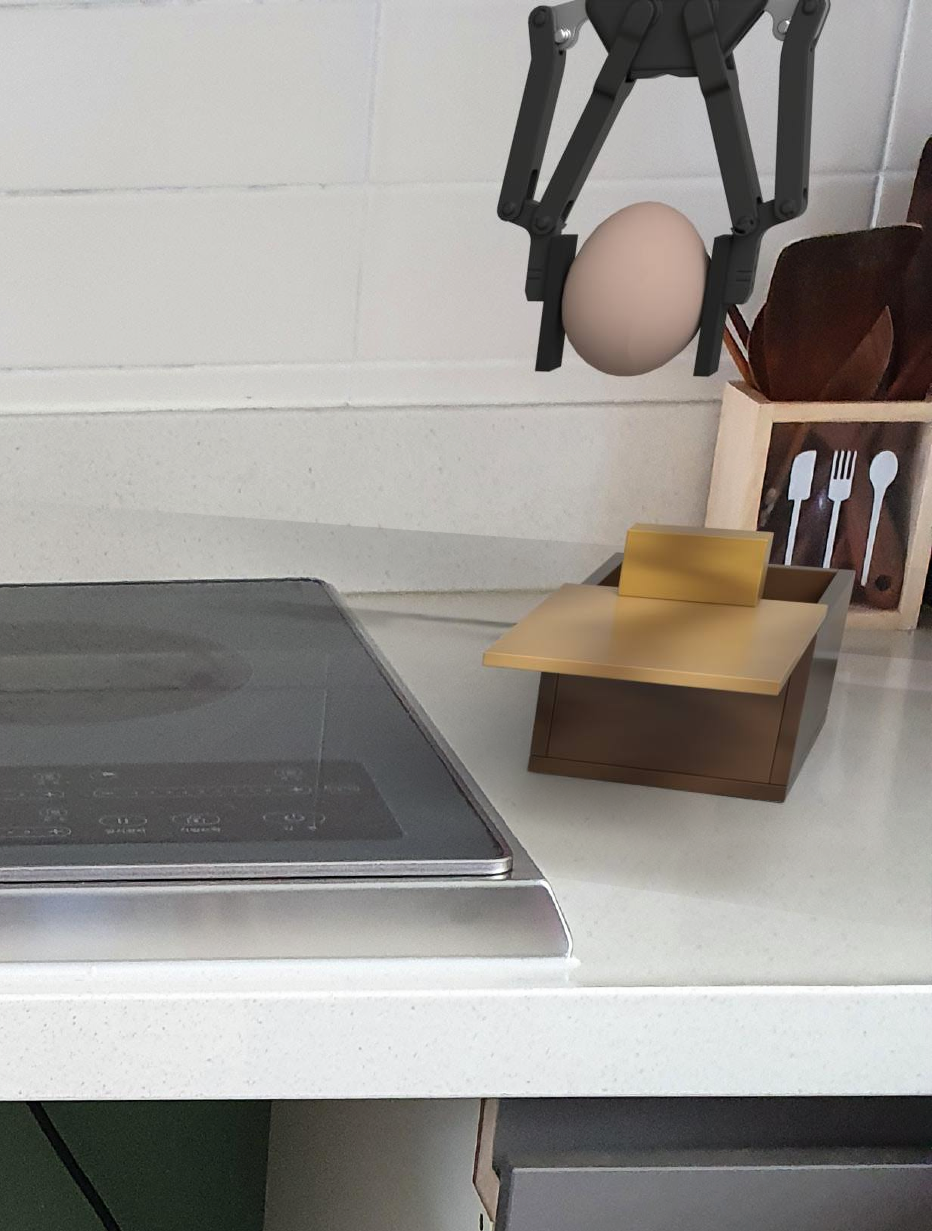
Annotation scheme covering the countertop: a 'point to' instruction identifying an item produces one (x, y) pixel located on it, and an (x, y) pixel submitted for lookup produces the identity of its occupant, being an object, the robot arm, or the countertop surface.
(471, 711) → the countertop surface
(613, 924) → the countertop surface
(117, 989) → the countertop surface
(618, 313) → the egg
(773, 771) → the box
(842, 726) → the countertop surface
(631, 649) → the lid
